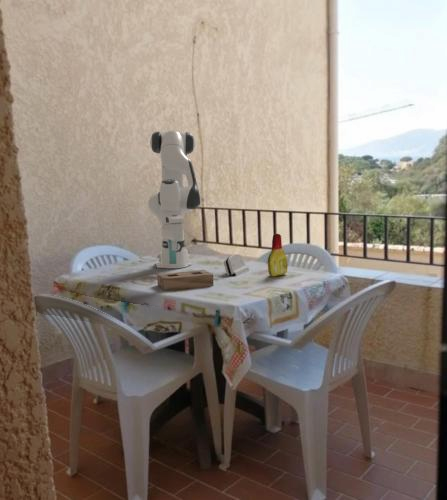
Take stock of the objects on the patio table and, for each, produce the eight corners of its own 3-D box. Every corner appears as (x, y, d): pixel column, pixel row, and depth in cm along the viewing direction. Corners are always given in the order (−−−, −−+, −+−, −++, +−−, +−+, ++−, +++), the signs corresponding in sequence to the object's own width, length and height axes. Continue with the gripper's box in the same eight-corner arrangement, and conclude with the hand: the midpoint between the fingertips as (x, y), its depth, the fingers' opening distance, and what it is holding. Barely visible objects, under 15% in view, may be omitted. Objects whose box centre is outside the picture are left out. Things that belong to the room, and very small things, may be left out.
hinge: (236, 276, 245) (229, 256, 245) (228, 278, 247) (221, 259, 247) (249, 269, 260) (242, 251, 260) (241, 272, 262) (234, 254, 262)
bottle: (273, 278, 238) (273, 235, 236) (263, 276, 243) (263, 234, 240) (290, 274, 246) (290, 233, 243) (280, 272, 251) (280, 232, 248)
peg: (168, 263, 224) (167, 236, 223) (175, 262, 225) (174, 235, 224) (170, 264, 222) (169, 236, 220) (177, 263, 223) (176, 236, 221)
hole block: (157, 285, 229) (157, 274, 228) (204, 280, 237) (204, 269, 236) (164, 290, 218) (164, 279, 217) (213, 285, 226) (213, 274, 225)
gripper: (157, 216, 229) (159, 247, 231) (170, 219, 210) (171, 253, 212) (171, 216, 231) (172, 246, 233) (185, 218, 213) (186, 251, 214)
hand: (172, 249), depth 223 cm, fingers closed on peg, 3 cm apart
